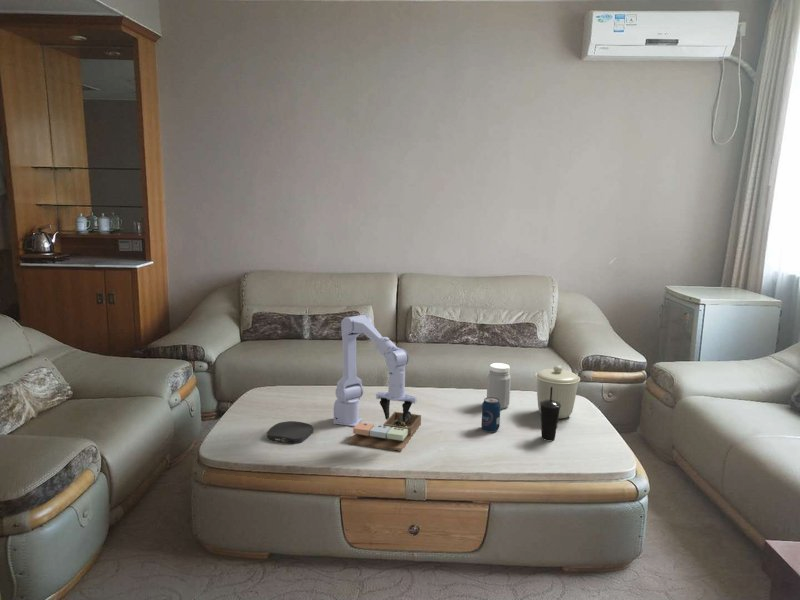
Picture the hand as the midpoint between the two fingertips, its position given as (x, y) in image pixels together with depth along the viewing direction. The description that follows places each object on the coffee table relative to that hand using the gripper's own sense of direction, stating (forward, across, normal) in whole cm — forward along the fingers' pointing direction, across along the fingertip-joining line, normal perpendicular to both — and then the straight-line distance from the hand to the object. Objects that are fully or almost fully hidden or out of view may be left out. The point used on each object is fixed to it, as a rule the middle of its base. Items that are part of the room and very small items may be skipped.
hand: (395, 419), depth 214 cm
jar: (+10, +29, +54) cm, 62 cm away
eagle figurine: (+10, -2, +16) cm, 19 cm away
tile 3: (+6, 0, +2) cm, 6 cm away
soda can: (+10, +30, +27) cm, 42 cm away
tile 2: (+6, -6, +2) cm, 9 cm away
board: (+10, -7, +9) cm, 15 cm away
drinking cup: (+10, +52, +26) cm, 59 cm away
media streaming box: (+10, -40, -4) cm, 42 cm away
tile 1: (+6, -13, +2) cm, 14 cm away
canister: (+10, +53, +52) cm, 75 cm away
